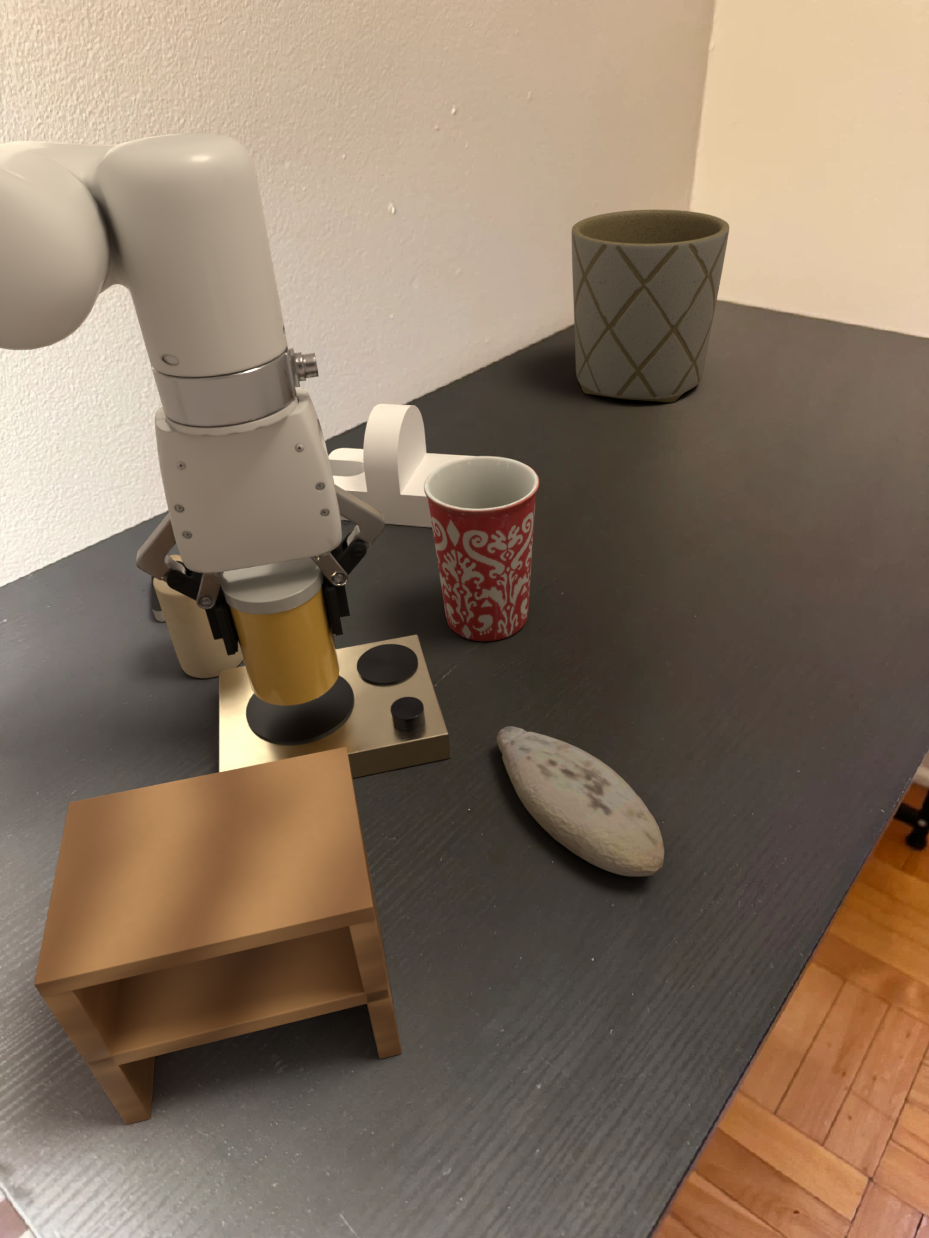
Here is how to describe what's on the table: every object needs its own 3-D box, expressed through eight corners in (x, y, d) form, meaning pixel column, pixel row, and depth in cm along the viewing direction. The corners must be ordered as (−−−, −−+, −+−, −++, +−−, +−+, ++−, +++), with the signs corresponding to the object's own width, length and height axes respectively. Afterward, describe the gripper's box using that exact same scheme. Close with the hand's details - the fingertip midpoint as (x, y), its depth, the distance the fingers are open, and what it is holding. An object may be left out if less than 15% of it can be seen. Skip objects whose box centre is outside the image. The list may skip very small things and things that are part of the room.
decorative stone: (532, 728, 63) (532, 694, 61) (694, 860, 53) (700, 824, 51) (467, 767, 60) (465, 733, 58) (625, 914, 50) (628, 879, 48)
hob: (226, 804, 59) (214, 767, 56) (225, 693, 68) (215, 658, 66) (450, 758, 61) (447, 721, 59) (420, 657, 70) (416, 622, 68)
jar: (250, 715, 58) (220, 610, 53) (248, 656, 63) (220, 555, 58) (345, 696, 59) (325, 591, 53) (335, 640, 64) (316, 539, 59)
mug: (508, 661, 69) (504, 519, 61) (416, 631, 73) (401, 493, 65) (573, 584, 78) (577, 450, 70) (487, 560, 82) (482, 431, 74)
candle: (167, 673, 70) (133, 574, 64) (202, 634, 75) (173, 537, 69) (225, 683, 69) (195, 583, 63) (258, 643, 73) (233, 545, 67)
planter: (590, 353, 126) (595, 207, 114) (720, 364, 119) (740, 211, 108) (550, 401, 112) (551, 241, 100) (695, 417, 106) (715, 248, 94)
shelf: (126, 1125, 42) (33, 984, 34) (141, 948, 50) (68, 801, 42) (402, 1053, 44) (373, 906, 36) (374, 895, 52) (346, 746, 44)
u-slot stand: (470, 530, 86) (465, 432, 80) (308, 517, 90) (290, 422, 84) (491, 486, 94) (487, 393, 87) (339, 476, 98) (325, 386, 91)
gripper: (369, 344, 52) (398, 582, 63) (77, 383, 50) (160, 624, 60) (387, 388, 46) (416, 642, 57) (58, 434, 44) (153, 692, 54)
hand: (284, 631), depth 59 cm, fingers closed on jar, 6 cm apart
